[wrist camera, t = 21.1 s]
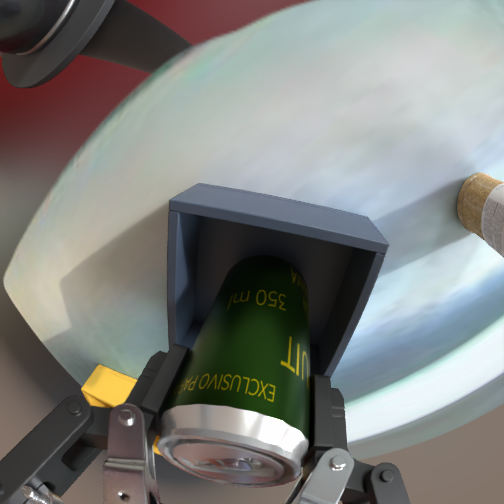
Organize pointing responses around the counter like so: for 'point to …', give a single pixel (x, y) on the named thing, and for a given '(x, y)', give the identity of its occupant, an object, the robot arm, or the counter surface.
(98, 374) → the yellow bin
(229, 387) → the beer can
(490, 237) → the sprinkles bottle
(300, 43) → the counter surface
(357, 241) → the slate bin
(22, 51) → the robot arm
